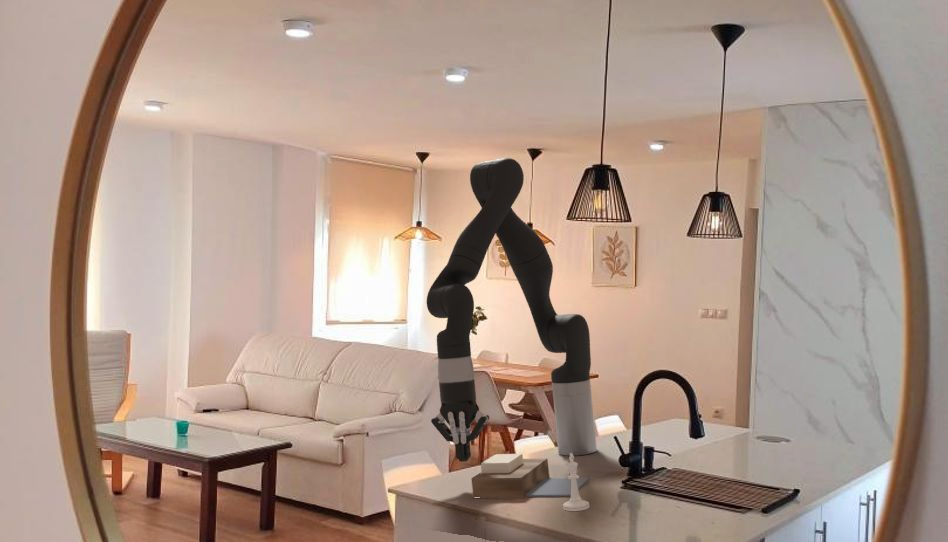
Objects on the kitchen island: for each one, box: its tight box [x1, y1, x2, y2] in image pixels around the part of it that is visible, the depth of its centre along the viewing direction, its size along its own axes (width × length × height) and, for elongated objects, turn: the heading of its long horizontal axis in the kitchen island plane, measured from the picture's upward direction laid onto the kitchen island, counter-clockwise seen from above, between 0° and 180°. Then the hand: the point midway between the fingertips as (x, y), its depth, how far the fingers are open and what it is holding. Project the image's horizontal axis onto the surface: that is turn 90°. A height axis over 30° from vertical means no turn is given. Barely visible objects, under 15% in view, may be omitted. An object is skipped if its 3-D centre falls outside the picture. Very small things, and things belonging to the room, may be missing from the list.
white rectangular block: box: [480, 453, 524, 473], centre depth 187 cm, size 9×6×2 cm, turn 159°
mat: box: [524, 477, 590, 498], centre depth 181 cm, size 14×10×1 cm
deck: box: [471, 457, 550, 499], centre depth 186 cm, size 18×10×4 cm, turn 159°
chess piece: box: [562, 453, 591, 512], centre depth 165 cm, size 5×5×10 cm
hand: (463, 460), depth 189 cm, fingers closed
